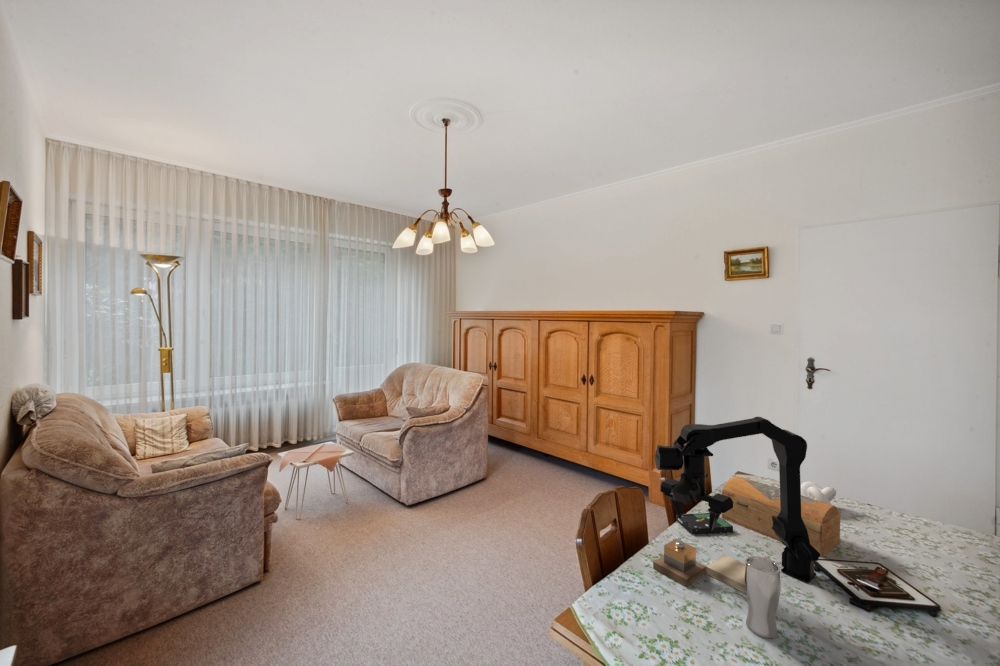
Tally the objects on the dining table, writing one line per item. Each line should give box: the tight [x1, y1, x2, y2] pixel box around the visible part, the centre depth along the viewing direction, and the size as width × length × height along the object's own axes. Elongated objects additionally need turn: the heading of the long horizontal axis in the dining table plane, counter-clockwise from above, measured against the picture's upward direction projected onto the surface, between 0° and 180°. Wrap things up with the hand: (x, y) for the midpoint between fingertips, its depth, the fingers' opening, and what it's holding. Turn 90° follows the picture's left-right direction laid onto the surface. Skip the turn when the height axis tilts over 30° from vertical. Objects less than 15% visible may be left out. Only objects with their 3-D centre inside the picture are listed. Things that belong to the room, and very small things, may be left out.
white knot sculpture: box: [801, 481, 837, 505], centre depth 153 cm, size 11×12×9 cm
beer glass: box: [744, 555, 782, 640], centre depth 92 cm, size 7×7×15 cm
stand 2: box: [705, 554, 746, 594], centre depth 112 cm, size 10×10×2 cm
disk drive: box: [675, 512, 734, 536], centre depth 139 cm, size 10×3×15 cm
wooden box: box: [721, 476, 842, 558], centre depth 137 cm, size 30×16×14 cm, turn 32°
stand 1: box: [652, 555, 707, 588], centre depth 114 cm, size 10×10×2 cm
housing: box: [663, 538, 697, 573], centre depth 114 cm, size 6×6×6 cm
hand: (695, 524), depth 116 cm, fingers open, 9 cm apart
